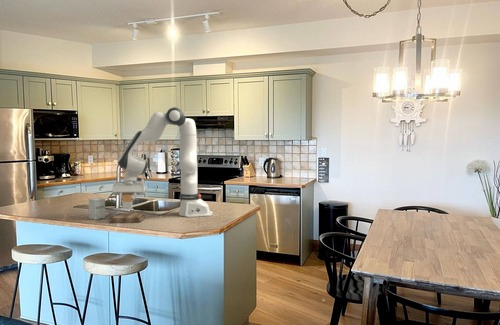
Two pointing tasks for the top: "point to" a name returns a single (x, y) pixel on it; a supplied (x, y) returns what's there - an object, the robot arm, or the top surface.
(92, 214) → the supplement box
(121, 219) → the walnut stand
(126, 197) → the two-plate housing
